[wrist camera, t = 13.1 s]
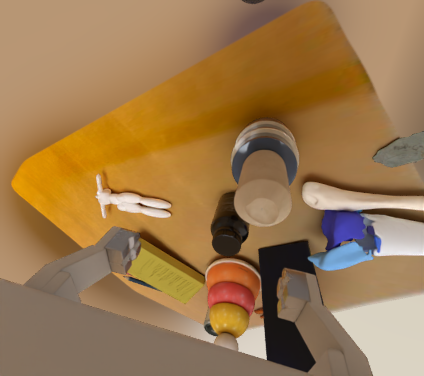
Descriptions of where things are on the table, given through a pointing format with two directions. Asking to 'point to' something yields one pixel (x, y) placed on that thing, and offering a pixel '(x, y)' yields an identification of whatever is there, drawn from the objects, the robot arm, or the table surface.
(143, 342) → the robot arm
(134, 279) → the pencil
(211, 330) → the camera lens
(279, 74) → the table surface
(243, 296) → the stacking toy
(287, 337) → the decorative box
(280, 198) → the candle
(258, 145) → the cup stack
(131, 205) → the decorative figure
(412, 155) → the rock
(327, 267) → the blue white plush toy
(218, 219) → the supplement bottle
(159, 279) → the flat olive board
